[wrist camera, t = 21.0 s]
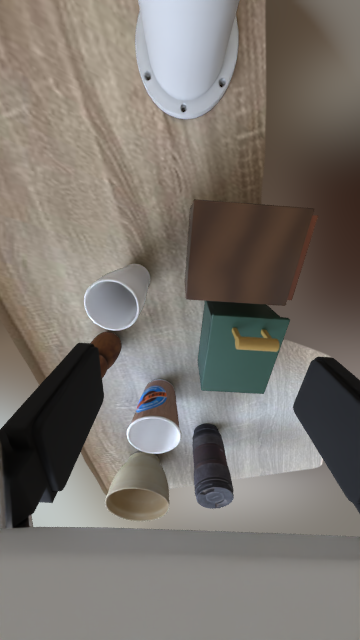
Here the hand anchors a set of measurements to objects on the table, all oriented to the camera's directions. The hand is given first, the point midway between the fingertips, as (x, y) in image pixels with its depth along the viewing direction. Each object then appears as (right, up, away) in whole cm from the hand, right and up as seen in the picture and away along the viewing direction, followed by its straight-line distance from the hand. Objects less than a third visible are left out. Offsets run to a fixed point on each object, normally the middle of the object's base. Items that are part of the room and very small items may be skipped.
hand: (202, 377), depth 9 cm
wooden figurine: (-16, -2, +34) cm, 38 cm away
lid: (+9, -3, +25) cm, 27 cm away
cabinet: (+7, +15, +26) cm, 31 cm away
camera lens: (+6, -28, +46) cm, 54 cm away
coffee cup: (-6, -14, +40) cm, 43 cm away
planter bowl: (-12, -40, +52) cm, 66 cm away
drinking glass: (-9, +10, +29) cm, 32 cm away
